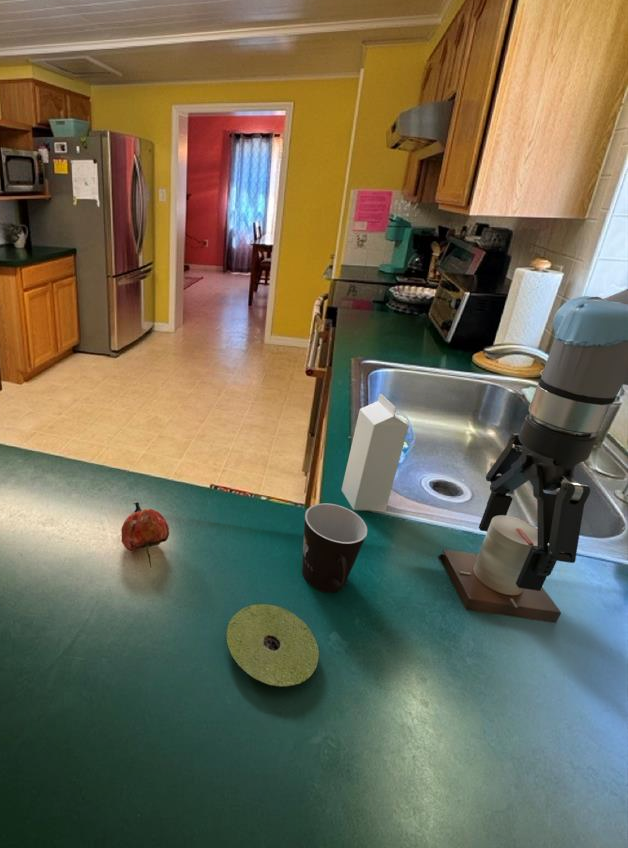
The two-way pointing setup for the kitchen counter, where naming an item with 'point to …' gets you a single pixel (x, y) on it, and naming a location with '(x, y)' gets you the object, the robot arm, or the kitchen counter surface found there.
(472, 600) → the brown dial base
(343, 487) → the milk
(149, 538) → the pomegranate
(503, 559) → the cream knob
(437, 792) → the kitchen counter surface
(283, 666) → the green disc with hole
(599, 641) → the kitchen counter surface
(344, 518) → the coffee mug
